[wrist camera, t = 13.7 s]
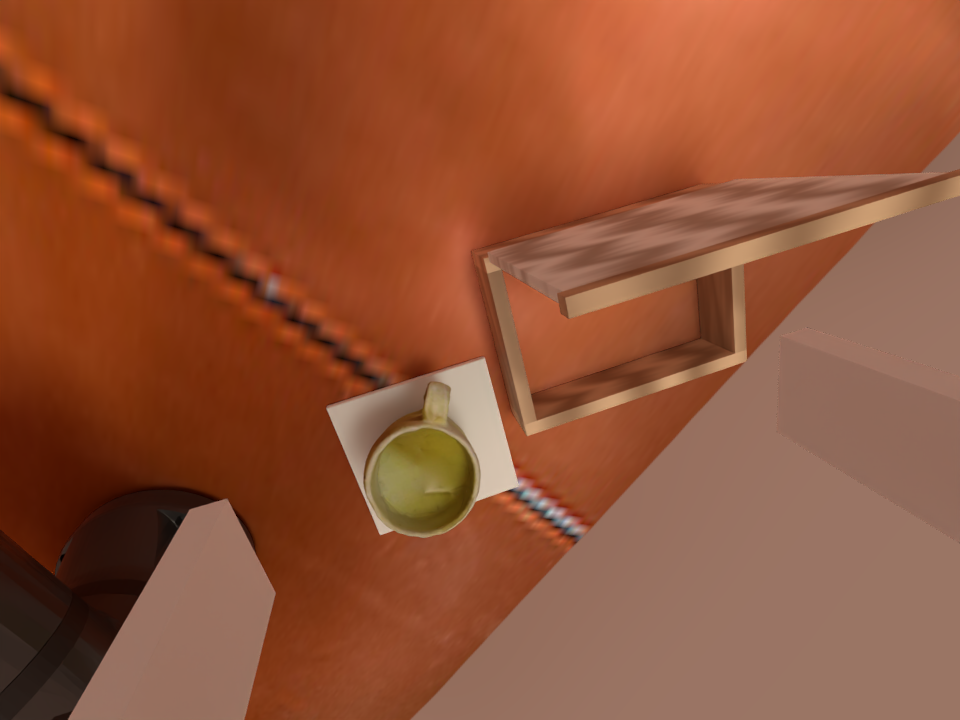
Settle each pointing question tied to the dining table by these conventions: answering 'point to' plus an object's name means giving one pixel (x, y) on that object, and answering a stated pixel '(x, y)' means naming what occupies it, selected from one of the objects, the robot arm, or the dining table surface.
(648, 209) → the open wooden box
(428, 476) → the mug
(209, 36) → the dining table surface
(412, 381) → the mat
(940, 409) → the robot arm
